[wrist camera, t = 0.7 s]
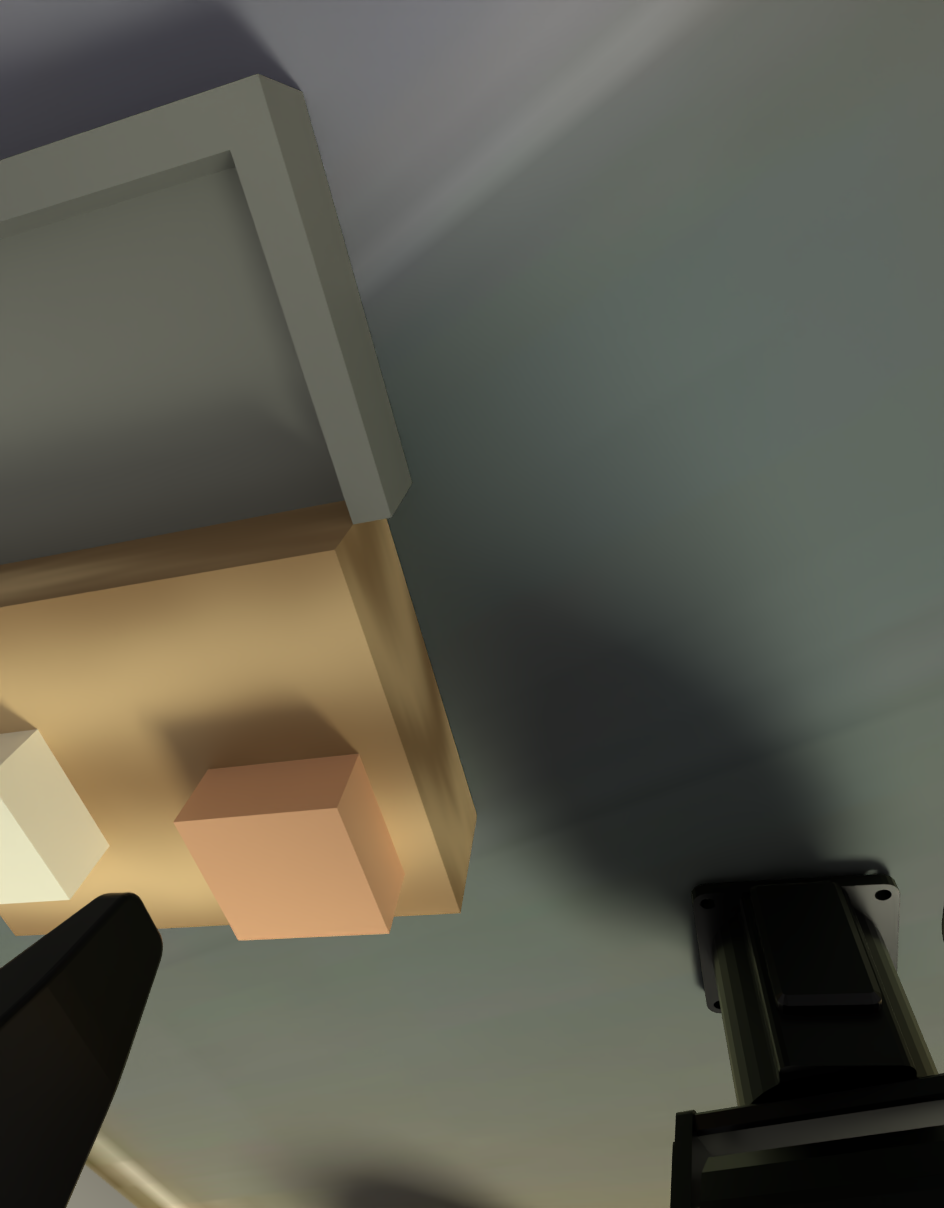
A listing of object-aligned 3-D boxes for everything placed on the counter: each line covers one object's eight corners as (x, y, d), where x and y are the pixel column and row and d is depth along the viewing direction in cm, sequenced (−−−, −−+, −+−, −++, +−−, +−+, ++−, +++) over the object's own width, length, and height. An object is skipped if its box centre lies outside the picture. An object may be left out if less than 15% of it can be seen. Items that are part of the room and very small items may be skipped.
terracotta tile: (404, 874, 21) (389, 933, 20) (265, 883, 22) (238, 940, 21) (359, 753, 19) (337, 807, 18) (208, 769, 20) (172, 822, 19)
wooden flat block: (476, 815, 25) (460, 913, 22) (83, 847, 29) (15, 935, 25) (377, 489, 20) (335, 549, 17) (-89, 577, 24) (-204, 642, 20)
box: (412, 482, 20) (391, 517, 18) (-113, 582, 24) (-183, 620, 22) (302, 91, 16) (257, 73, 14) (-306, 289, 20) (-415, 299, 18)
